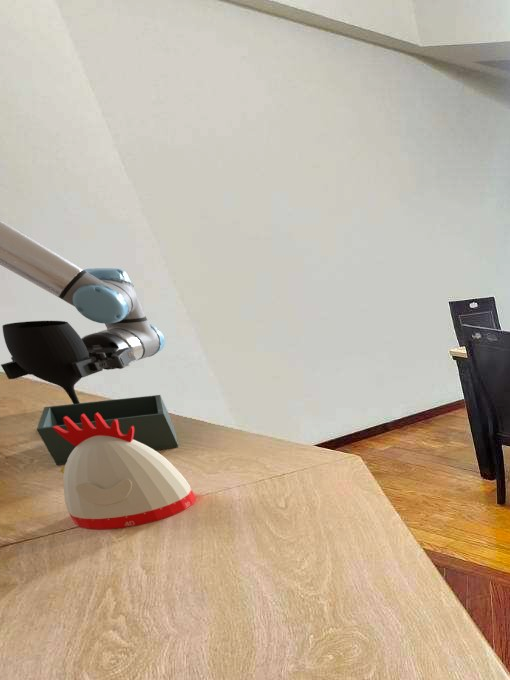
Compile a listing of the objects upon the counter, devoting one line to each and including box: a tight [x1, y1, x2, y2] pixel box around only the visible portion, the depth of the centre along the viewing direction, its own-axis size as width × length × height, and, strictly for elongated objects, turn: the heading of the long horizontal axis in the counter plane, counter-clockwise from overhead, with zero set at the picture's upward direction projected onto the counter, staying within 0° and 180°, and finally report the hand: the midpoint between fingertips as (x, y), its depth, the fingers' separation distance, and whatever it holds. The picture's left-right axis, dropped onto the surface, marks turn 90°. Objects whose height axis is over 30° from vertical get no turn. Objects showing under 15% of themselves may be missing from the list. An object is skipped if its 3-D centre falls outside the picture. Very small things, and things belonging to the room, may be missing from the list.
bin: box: [36, 394, 179, 466], centre depth 113 cm, size 17×17×7 cm
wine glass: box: [2, 320, 89, 404], centre depth 118 cm, size 10×10×20 cm
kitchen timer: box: [53, 412, 196, 530], centre depth 87 cm, size 14×14×15 cm
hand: (42, 371), depth 114 cm, fingers closed on wine glass, 10 cm apart
